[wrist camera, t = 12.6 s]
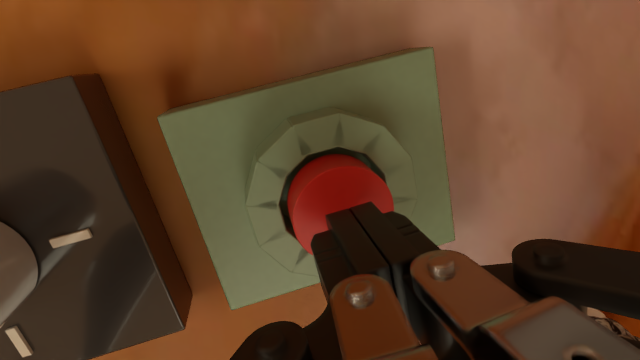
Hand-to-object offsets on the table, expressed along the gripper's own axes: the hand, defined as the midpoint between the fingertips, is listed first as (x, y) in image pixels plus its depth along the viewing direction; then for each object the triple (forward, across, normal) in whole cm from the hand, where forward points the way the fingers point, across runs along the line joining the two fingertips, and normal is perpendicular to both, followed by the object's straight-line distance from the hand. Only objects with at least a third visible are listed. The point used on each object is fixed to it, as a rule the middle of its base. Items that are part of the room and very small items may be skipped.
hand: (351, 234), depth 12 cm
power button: (+3, 0, 0) cm, 3 cm away
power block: (+6, 0, 0) cm, 6 cm away
